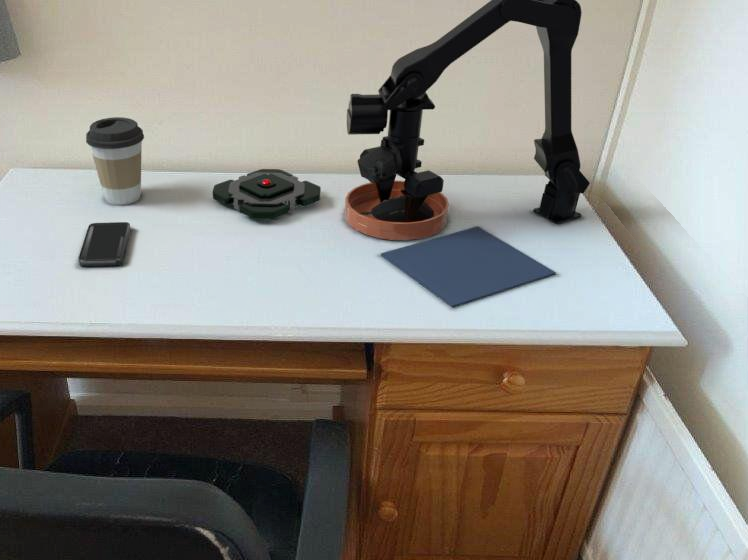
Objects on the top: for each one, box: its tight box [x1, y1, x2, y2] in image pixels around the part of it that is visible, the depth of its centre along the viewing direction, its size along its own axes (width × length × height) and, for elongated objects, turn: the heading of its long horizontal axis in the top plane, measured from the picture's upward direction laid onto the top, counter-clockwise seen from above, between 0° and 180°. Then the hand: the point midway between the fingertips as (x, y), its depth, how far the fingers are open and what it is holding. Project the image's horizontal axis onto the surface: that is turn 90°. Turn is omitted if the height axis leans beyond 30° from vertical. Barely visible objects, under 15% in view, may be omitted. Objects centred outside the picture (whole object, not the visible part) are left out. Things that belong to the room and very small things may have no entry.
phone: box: [77, 221, 132, 268], centre depth 141 cm, size 8×1×15 cm
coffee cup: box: [85, 116, 145, 206], centre depth 154 cm, size 11×11×15 cm
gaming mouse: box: [359, 196, 434, 223], centre depth 148 cm, size 6×15×4 cm, turn 83°
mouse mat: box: [380, 226, 557, 308], centre depth 134 cm, size 22×20×1 cm
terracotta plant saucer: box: [344, 179, 450, 241], centre depth 148 cm, size 19×19×4 cm
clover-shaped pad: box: [211, 168, 321, 220], centre depth 155 cm, size 18×18×5 cm
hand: (395, 213), depth 148 cm, fingers closed on gaming mouse, 7 cm apart
